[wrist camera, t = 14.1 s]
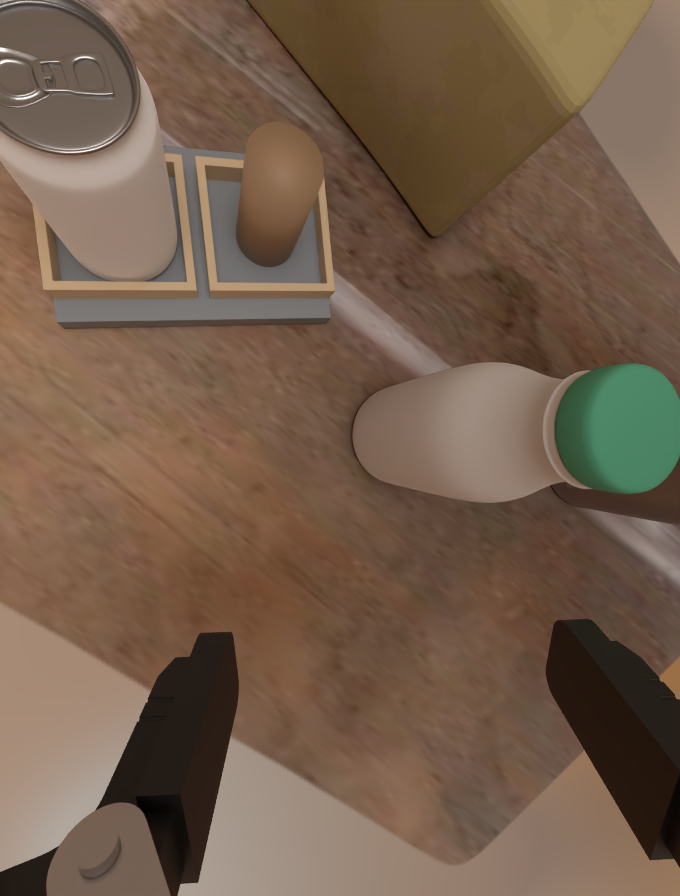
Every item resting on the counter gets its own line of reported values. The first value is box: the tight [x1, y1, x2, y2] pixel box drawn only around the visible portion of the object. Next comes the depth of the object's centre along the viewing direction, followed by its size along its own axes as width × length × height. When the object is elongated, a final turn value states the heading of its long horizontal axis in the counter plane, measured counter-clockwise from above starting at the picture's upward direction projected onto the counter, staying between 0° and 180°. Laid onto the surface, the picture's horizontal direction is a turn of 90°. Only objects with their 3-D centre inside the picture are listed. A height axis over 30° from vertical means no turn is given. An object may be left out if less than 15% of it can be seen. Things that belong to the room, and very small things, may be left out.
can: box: [0, 0, 177, 282], centre depth 20 cm, size 6×6×12 cm
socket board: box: [32, 122, 335, 329], centre depth 24 cm, size 17×11×10 cm, turn 96°
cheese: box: [248, 0, 654, 237], centre depth 25 cm, size 22×10×15 cm, turn 55°
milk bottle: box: [352, 362, 680, 503], centre depth 24 cm, size 8×8×20 cm
